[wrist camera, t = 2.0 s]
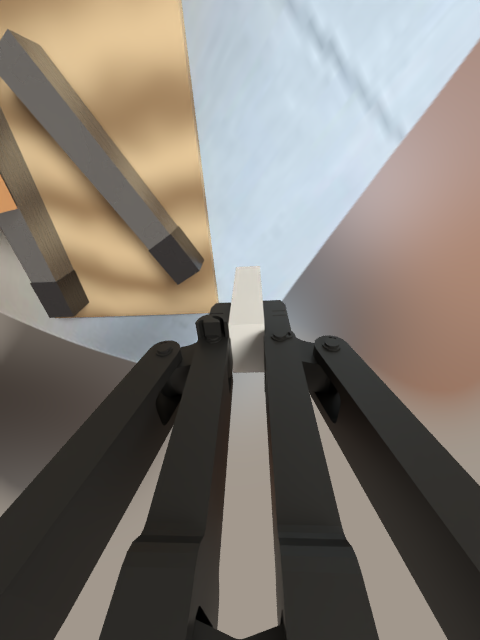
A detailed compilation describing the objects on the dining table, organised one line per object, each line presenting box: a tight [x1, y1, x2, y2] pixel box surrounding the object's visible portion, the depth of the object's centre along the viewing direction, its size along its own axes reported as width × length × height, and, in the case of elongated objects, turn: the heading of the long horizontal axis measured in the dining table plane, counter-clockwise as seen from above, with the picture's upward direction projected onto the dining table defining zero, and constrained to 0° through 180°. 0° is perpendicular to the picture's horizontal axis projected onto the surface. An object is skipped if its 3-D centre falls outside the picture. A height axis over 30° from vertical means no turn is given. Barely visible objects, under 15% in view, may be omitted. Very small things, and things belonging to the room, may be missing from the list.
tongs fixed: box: [0, 107, 89, 318], centre depth 22 cm, size 22×5×4 cm, turn 4°
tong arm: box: [0, 29, 204, 285], centre depth 21 cm, size 18×3×3 cm, turn 34°
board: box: [0, 0, 219, 318], centre depth 24 cm, size 25×20×1 cm
